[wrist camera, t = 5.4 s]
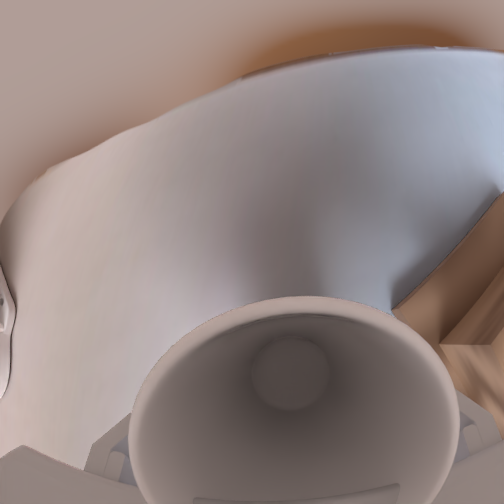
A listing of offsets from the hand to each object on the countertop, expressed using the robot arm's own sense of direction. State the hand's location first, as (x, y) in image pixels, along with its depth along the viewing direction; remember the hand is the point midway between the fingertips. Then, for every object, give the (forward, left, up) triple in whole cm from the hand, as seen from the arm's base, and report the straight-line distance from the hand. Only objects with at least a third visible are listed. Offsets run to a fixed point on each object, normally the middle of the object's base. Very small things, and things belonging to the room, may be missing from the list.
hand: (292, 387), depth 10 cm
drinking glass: (0, 0, -9) cm, 9 cm away
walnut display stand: (+12, +16, -9) cm, 22 cm away
